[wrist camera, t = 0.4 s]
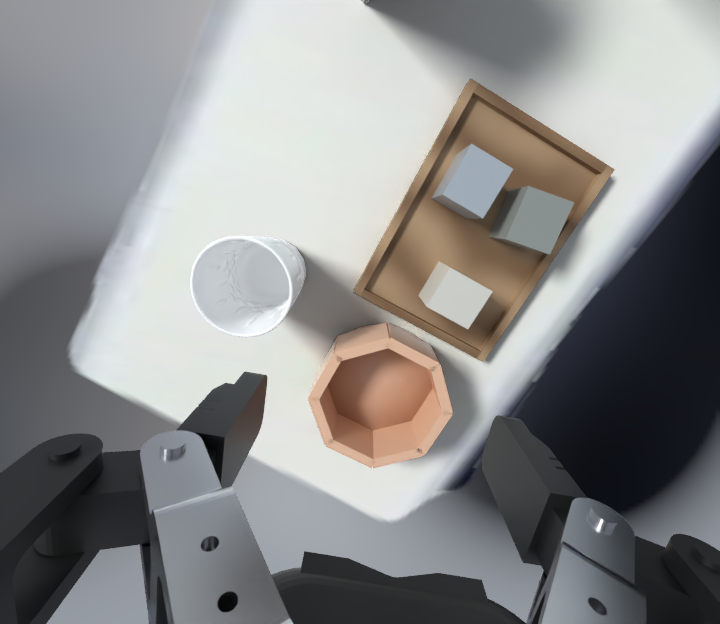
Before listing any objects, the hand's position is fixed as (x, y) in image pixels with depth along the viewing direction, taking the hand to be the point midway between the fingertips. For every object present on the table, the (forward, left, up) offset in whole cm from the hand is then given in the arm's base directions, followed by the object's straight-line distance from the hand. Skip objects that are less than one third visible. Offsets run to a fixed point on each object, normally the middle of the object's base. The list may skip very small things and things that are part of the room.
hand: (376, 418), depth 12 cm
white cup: (+3, -10, -26) cm, 28 cm away
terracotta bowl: (+9, +6, -25) cm, 28 cm away
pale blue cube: (-13, +3, -25) cm, 28 cm away
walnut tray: (-10, +6, -25) cm, 28 cm away
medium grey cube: (-13, +9, -25) cm, 29 cm away
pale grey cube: (-4, +7, -25) cm, 26 cm away
